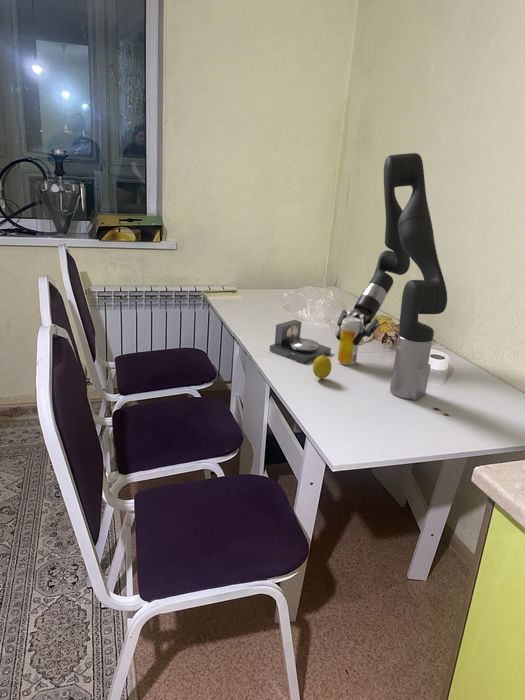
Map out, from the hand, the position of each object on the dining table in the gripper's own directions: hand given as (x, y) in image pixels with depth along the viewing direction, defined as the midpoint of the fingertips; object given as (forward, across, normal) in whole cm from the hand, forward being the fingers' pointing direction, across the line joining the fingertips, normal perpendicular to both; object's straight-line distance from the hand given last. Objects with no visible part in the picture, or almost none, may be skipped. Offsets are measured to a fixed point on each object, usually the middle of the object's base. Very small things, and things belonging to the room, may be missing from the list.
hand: (346, 341), depth 160 cm
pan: (+6, -14, +1) cm, 16 cm away
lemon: (+17, +3, -6) cm, 18 cm away
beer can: (+4, 0, +7) cm, 8 cm away
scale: (+8, -16, +3) cm, 18 cm away
